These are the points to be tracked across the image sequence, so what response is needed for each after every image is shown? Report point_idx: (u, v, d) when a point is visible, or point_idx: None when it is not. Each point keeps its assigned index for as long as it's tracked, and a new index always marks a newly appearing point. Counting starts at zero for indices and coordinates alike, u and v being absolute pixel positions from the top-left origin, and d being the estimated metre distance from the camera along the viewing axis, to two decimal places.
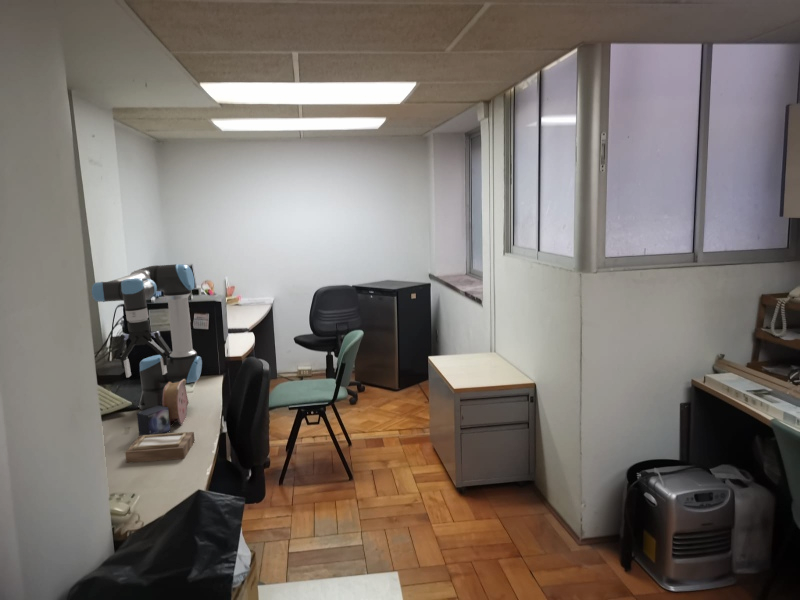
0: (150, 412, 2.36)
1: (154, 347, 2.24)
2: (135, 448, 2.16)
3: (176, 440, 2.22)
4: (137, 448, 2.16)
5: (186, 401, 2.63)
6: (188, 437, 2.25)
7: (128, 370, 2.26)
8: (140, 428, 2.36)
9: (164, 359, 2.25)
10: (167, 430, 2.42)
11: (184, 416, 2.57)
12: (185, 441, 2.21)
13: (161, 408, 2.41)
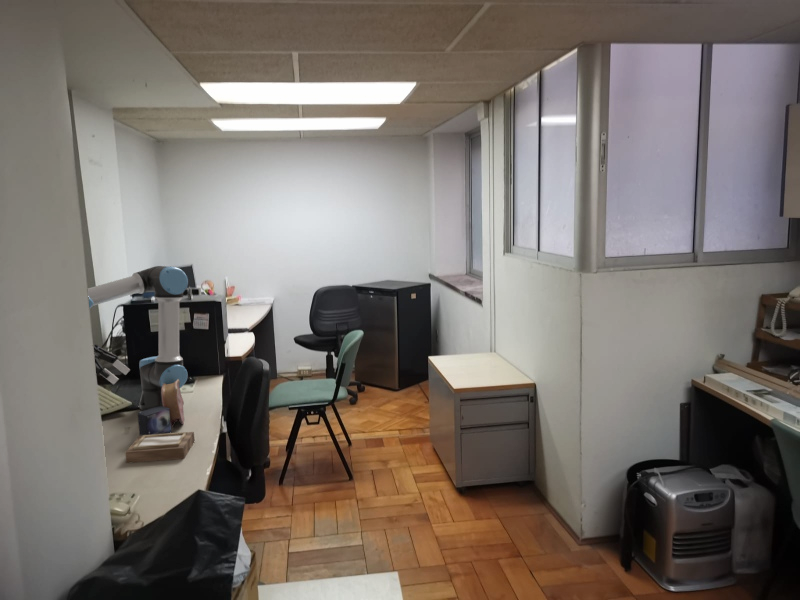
0: (150, 412, 2.35)
1: None
2: (135, 448, 2.16)
3: (176, 440, 2.22)
4: (137, 448, 2.16)
5: (182, 401, 2.62)
6: (188, 437, 2.25)
7: (122, 369, 2.42)
8: (140, 428, 2.36)
9: None
10: (168, 431, 2.41)
11: (183, 416, 2.56)
12: (185, 441, 2.21)
13: (162, 408, 2.40)
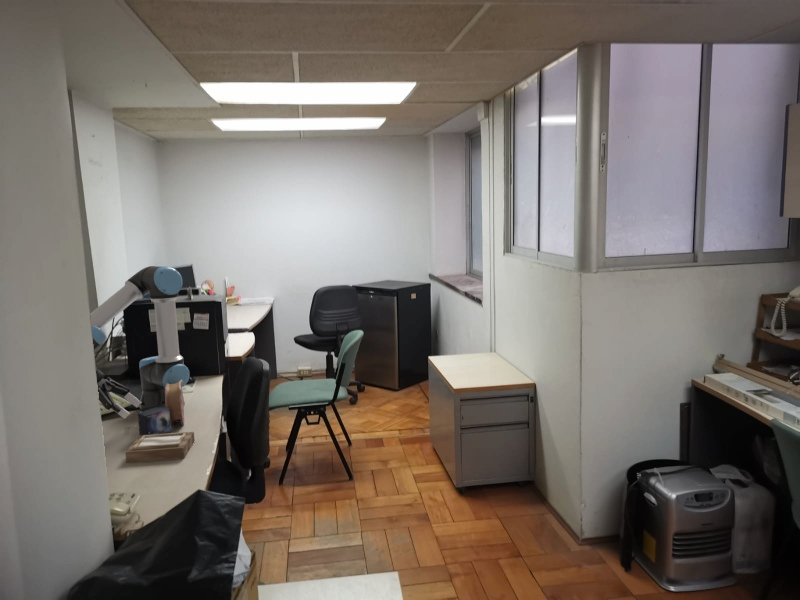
0: (150, 413, 2.35)
1: None
2: (135, 448, 2.16)
3: (176, 440, 2.22)
4: (137, 448, 2.16)
5: (183, 402, 2.62)
6: (188, 437, 2.25)
7: (133, 402, 2.43)
8: (140, 428, 2.36)
9: None
10: (168, 431, 2.41)
11: None
12: (185, 441, 2.21)
13: (162, 408, 2.40)
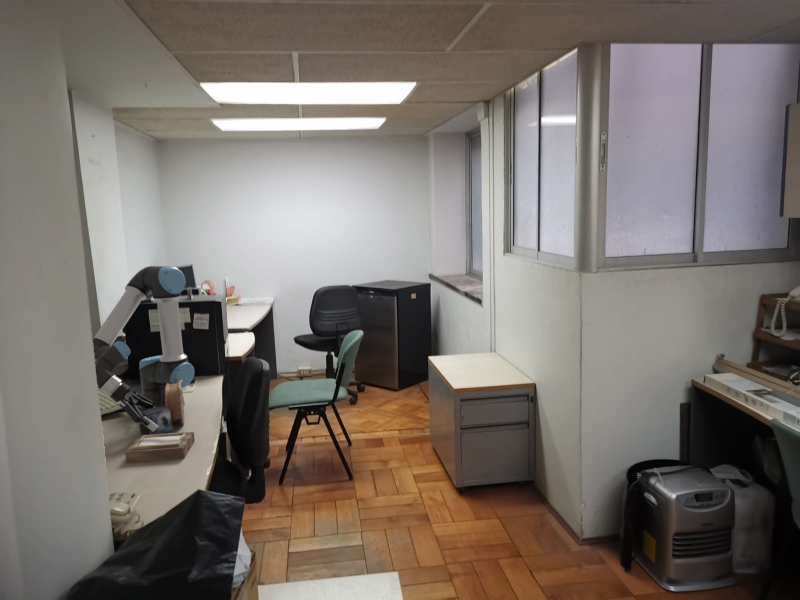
0: (151, 412, 2.36)
1: None
2: (135, 448, 2.16)
3: (176, 440, 2.22)
4: (137, 448, 2.16)
5: (183, 402, 2.62)
6: (188, 437, 2.25)
7: None
8: (141, 428, 2.37)
9: None
10: (169, 430, 2.41)
11: None
12: (185, 441, 2.21)
13: (163, 408, 2.41)
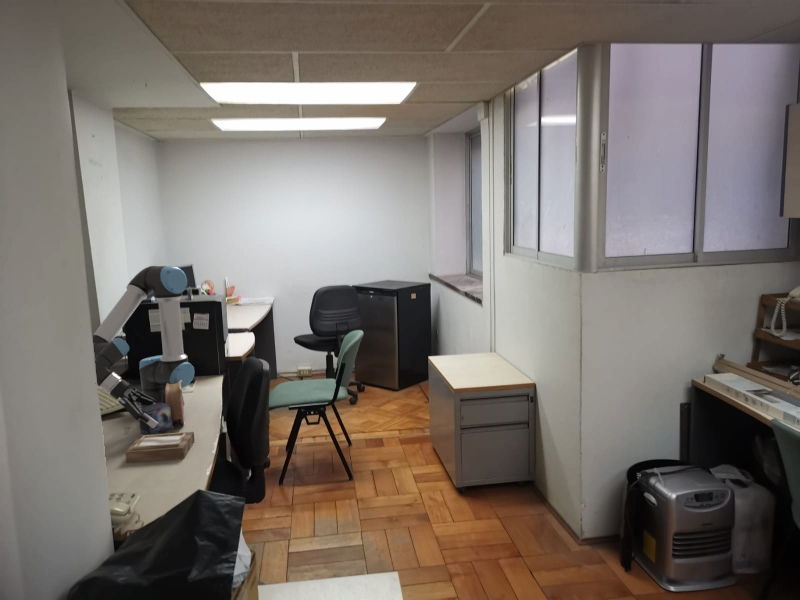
0: (151, 409, 2.36)
1: None
2: (135, 448, 2.16)
3: (176, 440, 2.22)
4: (137, 448, 2.16)
5: (182, 402, 2.62)
6: (188, 437, 2.25)
7: None
8: (141, 424, 2.37)
9: None
10: (169, 427, 2.42)
11: None
12: (185, 441, 2.21)
13: (162, 404, 2.41)
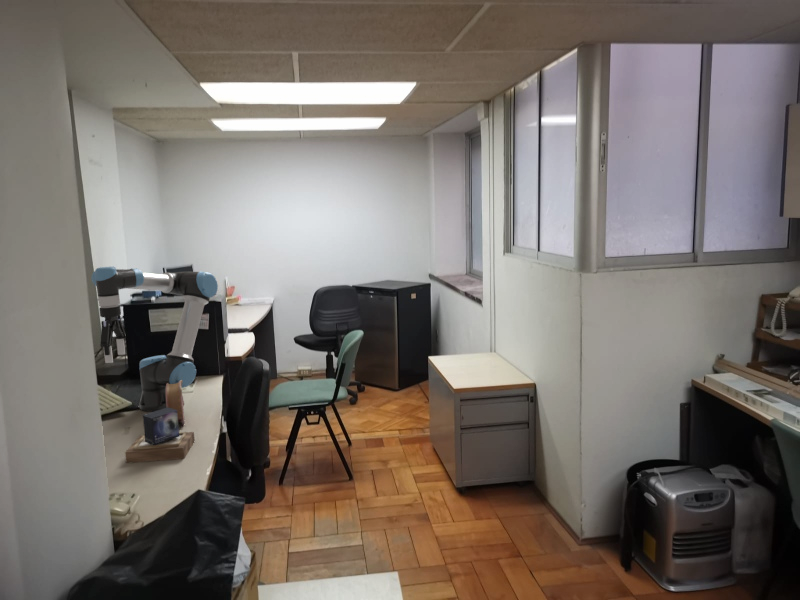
0: (156, 415, 2.17)
1: None
2: (135, 448, 2.16)
3: (176, 440, 2.22)
4: (137, 448, 2.16)
5: (182, 402, 2.62)
6: (188, 437, 2.25)
7: (119, 349, 2.47)
8: (146, 432, 2.18)
9: None
10: (175, 435, 2.23)
11: None
12: (185, 441, 2.21)
13: (169, 410, 2.22)
